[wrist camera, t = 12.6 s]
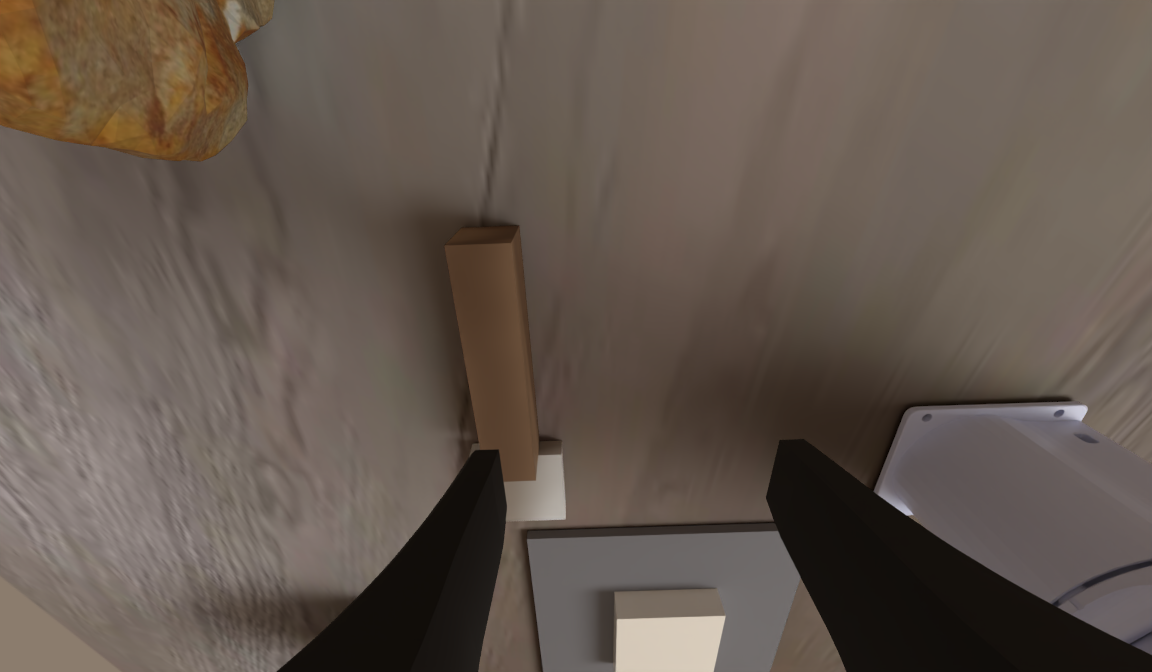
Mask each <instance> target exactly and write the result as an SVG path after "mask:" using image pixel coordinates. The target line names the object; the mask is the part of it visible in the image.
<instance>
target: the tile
mask: <svg viewBox="0 0 1152 672" xmlns="http://www.w3.org/2000/svg"><path fill="white" fill-rule="evenodd" d="M725 617H726V615H725V612H724V609H723V605H722V602H721V599H720V596H719V593H718V590H717V588H715V589H683V590H651V591H620V592H614V639H613V669H614V672H714V668H715V663H716V658H717V654H718V649H719V645H720V640H721V635H722V631H723V626H724V622H725Z"/></svg>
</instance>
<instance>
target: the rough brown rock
mask: <svg viewBox="0 0 1152 672" xmlns="http://www.w3.org/2000/svg"><path fill="white" fill-rule="evenodd" d="M273 7H274V0H0V125H2V126H5V127H9V128H13V129H16V130H20V131H24V132H28V133H31V134H35V135H39V136H43V137H46V138H50V139H54V140H59V141H65V142H71V143H78V144H84V145H90V146H99V147H106V148H110V149H113V150H117V151H120V152H124V153H127V154H131V155H135V156H138V157H142V158H151V159H162V160H172V161H181V160H190V161H203V160H206V159H208V158H210V157H213V156H215V155H216V154H218V153H219V152H220V151H221V150H222V149H223V148H224V147H225V146H226V145H227V144H229V143H230V142H231V141H232V140H233V138H234V137H235V136H236V134H237V133H238V132H239V130H240V129H241V128H242V126H243V125H244V124H245V122H246V121H247V92H248V80H247V74H246V68H245V63H244V61H243V59H242V57H241V55H240V53H239V51H238V49H237V47H236V45H235V43H236V42H238V41H240V40H242V39H244V38H246V37H247V36H249V35H251V34H252V33H254V32H255V31H257V30H258V29H260V28H259V27H260V26H264V25H265V24H266V23H268V22H269V21H270V20H271V19H272V15H273Z"/></svg>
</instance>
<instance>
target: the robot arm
mask: <svg viewBox="0 0 1152 672" xmlns="http://www.w3.org/2000/svg"><path fill="white" fill-rule="evenodd" d="M1086 412H1087V406H1085V405H1084V404H1082V403H1080V402H1077V401H1070V402H1039V403H1009V404H979V405H949V406H918V407H911V408H909V409H908V410H907V411H906V412H905V413H904V415H903V418H902V420H901V423H900V425H899V428H898V430H897V433H896V435H895V438H894V441H893V443H892V446H891V448H890V451H889V453H888V456H887V458H886V461H885V463H884V466H883V469H882V471H881V474H880V476H879V479H878V481H877V484H876V486H875V489H874V492H873V491H872V490H871V489H869V488H868V487H867V486H865V485H864V484H863V483H861V482H860V481H859V480H857V479H856V478H855V477H853V476H852V475H851V474H849V473H848V472H847V471H845V470H844V469H843V468H842V467H840V466H839V465H838V464H836V463H835V462H834V461H832V460H831V459H830V458H828V457H827V456H826V455H824V454H823V453H822V452H820V451H819V450H818V449H816V448H815V447H814V446H812V445H811V444H810V443H808V442H807V441H805V440H804V439H798V440H780V441H779V445H778V449H777V454H776V458H775V462H774V466H773V471H772V475H771V479H770V483H769V487H768V492H767V496H766V499H767V502H768V505H769V508H770V511H771V513H772V516H773V519H774V522H775V524H776V527H777V529H778V532H779V535H780V537H781V539H782V541H783V543H784V545H785V547H786V549H787V551H788V553H789V555H790V557H791V559H792V561H793V563H794V565H795V567H796V569H797V571H798V573H799V575H800V577H801V579H802V581H803V583H804V584H805V586H806V588H807V590H808V592H809V594H810V596H811V598H812V600H813V602H814V604H815V606H816V608H817V610H818V612H819V613H820V615H821V617H822V619H823V621H824V623H825V625H826V627H827V629H828V631H829V633H830V635H831V637H832V639H833V642H834V644H835V646H836V648H837V650H838V652H839V655H840V657H841V659H842V662H843V664H844V667H845V669H846V672H1152V463H1150V462H1148V461H1147V460H1145V459H1143V458H1142V457H1140V456H1138V455H1137V454H1135V453H1133V452H1132V451H1130V450H1128V449H1126V448H1125V447H1123V446H1121V445H1120V444H1118V443H1116V442H1115V441H1113V440H1111V439H1110V438H1108V437H1106V436H1105V435H1103V434H1101V433H1100V432H1098V431H1096V430H1095V429H1093V428H1091V427H1090V426H1088V425H1086V424H1084V423H1083V422H1081V420H1082V419H1083V417H1084V416H1085V414H1086ZM924 415H925V416H924ZM506 513H507V502H506V495H505V488H504V481H503V474H502V467H501V460H500V454H499V449H494V450H475V451H474V452H473V453H472V454H471V455H470V457H469V458H468V460H467V462H466V463H465V465H464V466H463V468H462V469H461V471H460V472H459V474H458V475H457V477H456V478H455V480H454V481H453V483H452V484H451V485H450V487H449V488H448V490H447V491H446V493H445V494H444V495H443V497H442V498H441V499H440V501H439V502H438V504H437V505H436V506H435V508H434V509H433V510H432V512H431V513H430V514H429V516H428V517H427V518H426V520H425V521H424V522H423V523H422V525H421V526H420V527H419V528H418V530H417V531H416V532H415V533H414V535H413V536H412V537H411V538H410V539H409V541H408V542H407V543H406V544H405V546H404V547H403V548H402V549H401V550H400V552H399V553H398V554H397V555H396V556H395V557H394V559H393V560H392V561H391V562H390V563H389V564H388V565H387V566H386V568H385V569H384V570H383V571H382V572H381V573H380V574H379V575H378V576H377V577H376V578H375V579H374V581H373V582H372V583H371V584H370V585H369V586H368V587H367V588H366V589H365V590H364V591H363V592H362V593H361V594H360V595H359V596H358V597H357V598H356V599H355V600H354V601H353V602H352V603H351V604H350V605H349V606H348V607H347V608H346V609H345V610H344V611H343V612H342V613H341V614H340V615H339V616H338V617H337V618H336V619H335V620H334V621H333V622H332V623H331V624H330V625H329V626H328V627H326V628H325V629H324V630H323V631H322V632H321V633H320V634H319V635H318V636H317V637H316V638H315V639H314V640H312V641H311V642H310V643H309V644H308V645H307V646H306V647H304V648H303V649H302V650H301V651H300V652H299V653H297V654H296V655H295V656H294V657H293V658H292V659H291V660H289V661H288V662H287V663H286V664H285V665H284V666H283V667H281V668H280V669H279V670H278V671H277V672H478V669H479V662H480V656H481V650H482V644H483V639H484V634H485V630H486V625H487V620H488V616H489V611H490V606H491V602H492V597H493V592H494V588H495V583H496V578H497V573H498V569H499V564H500V559H501V554H502V549H503V543H504V534H505V524H506ZM907 515H914V516H915V517H916V518H917V519H918V520H919V522H920V523H921V524H922V525H923V526H924V527H925V528H924V527H923V526H921V525H920V524H918V523H917V522H915V521H914V520H912V519H911V518H909V517H908V516H907Z"/></svg>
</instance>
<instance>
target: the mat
mask: <svg viewBox="0 0 1152 672" xmlns="http://www.w3.org/2000/svg"><path fill="white" fill-rule="evenodd" d="M527 544H528V552H529V561H530V569H531V577H532V585H533V593H534V601H535V609H536V618H537V626H538V634H539V642H540V650H541V658H542V666H543V672H614V669H613V639H614V592H620V591H651V590H683V589H715V588H717V590H718V593H719V596H720V599H721V602H722V605H723V609H724V612H725V615H726V617H725V622H724V626H723V631H722V635H721V640H720V645H719V649H718V654H717V658H716V663H715V668H714V672H770V669H771V666H772V663H773V660H774V657H775V654H776V651H777V648H778V645H779V642H780V639H781V636H782V633H783V630H784V627H785V623H786V620H787V617H788V614H789V611H790V608H791V605H792V602H793V599H794V596H795V593H796V590H797V587H798V584H799V581H800V578H801V577H800V575H799V573H798V571H797V569H796V567H795V565H794V563H793V561H792V559H791V557H790V555H789V553H788V551H787V549H786V547H785V545H784V543H783V541H782V539H781V537H780V535H779V532H778V529H777V527H776V524H775V523H756V524H725V525H695V526H664V527H633V528H602V529H571V530H541V531H528V533H527Z"/></svg>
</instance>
